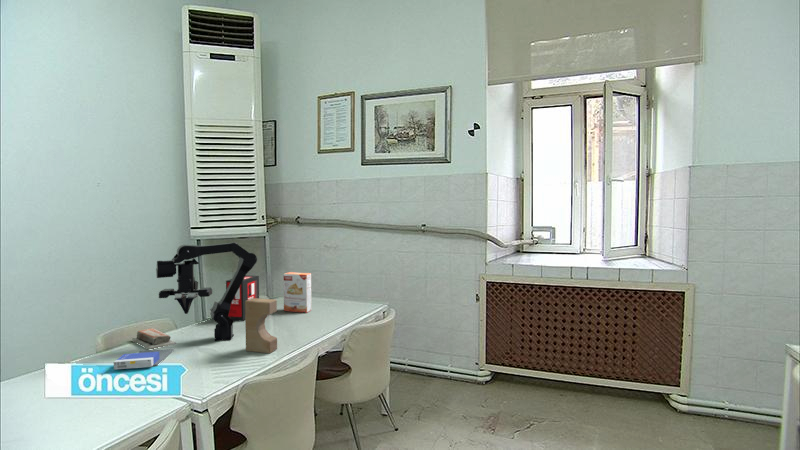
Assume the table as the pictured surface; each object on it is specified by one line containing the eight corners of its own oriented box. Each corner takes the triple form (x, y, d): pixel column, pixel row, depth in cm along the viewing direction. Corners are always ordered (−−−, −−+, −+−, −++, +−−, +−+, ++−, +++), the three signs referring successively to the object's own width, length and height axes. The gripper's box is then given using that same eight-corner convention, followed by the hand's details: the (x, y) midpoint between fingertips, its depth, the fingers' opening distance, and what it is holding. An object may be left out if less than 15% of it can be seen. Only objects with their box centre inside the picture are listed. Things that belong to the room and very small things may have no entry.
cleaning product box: (243, 321, 199) (242, 281, 199) (226, 320, 201) (226, 280, 200) (259, 312, 216) (258, 275, 215) (243, 311, 217) (243, 275, 216)
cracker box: (283, 311, 218) (282, 273, 217) (289, 308, 224) (288, 271, 223) (306, 313, 214) (306, 274, 213) (311, 310, 220) (311, 272, 219)
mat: (173, 350, 158) (173, 348, 158) (157, 366, 142) (157, 364, 142) (140, 352, 156) (140, 350, 156) (119, 368, 140) (119, 366, 140)
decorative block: (277, 349, 159) (277, 299, 159) (269, 354, 154) (268, 302, 153) (254, 346, 163) (253, 297, 162) (245, 351, 157) (244, 300, 156)
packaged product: (131, 331, 168) (156, 325, 176) (131, 342, 168) (157, 336, 176) (149, 339, 158) (175, 333, 165) (149, 351, 158) (176, 344, 166)
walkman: (159, 358, 147) (123, 361, 145) (159, 351, 147) (122, 354, 145) (151, 367, 140) (112, 370, 137) (151, 359, 139) (112, 362, 137)
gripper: (215, 272, 173) (216, 307, 173) (168, 273, 169) (169, 309, 170) (208, 276, 162) (208, 314, 162) (157, 277, 158) (158, 316, 159)
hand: (186, 313), depth 164 cm, fingers closed
